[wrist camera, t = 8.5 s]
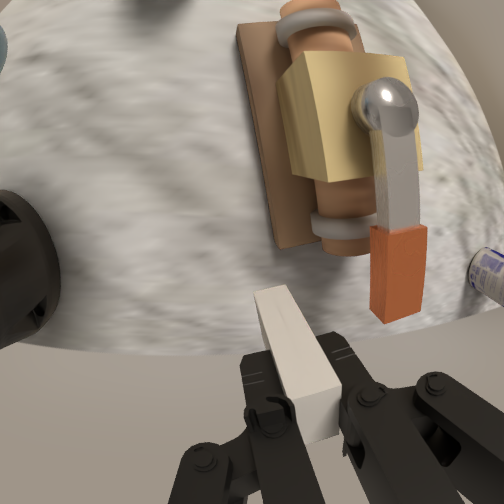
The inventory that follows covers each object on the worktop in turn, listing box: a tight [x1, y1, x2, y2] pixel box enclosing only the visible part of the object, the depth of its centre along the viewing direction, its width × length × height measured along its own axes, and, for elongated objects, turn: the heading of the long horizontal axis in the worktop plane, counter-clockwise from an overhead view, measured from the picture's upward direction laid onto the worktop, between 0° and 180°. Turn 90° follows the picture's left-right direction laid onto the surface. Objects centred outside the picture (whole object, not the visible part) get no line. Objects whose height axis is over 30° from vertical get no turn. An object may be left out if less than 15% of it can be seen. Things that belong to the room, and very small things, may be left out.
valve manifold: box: [236, 0, 423, 256], centre depth 17 cm, size 10×18×9 cm, turn 11°
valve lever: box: [351, 77, 427, 324], centre depth 13 cm, size 12×3×2 cm, turn 10°
